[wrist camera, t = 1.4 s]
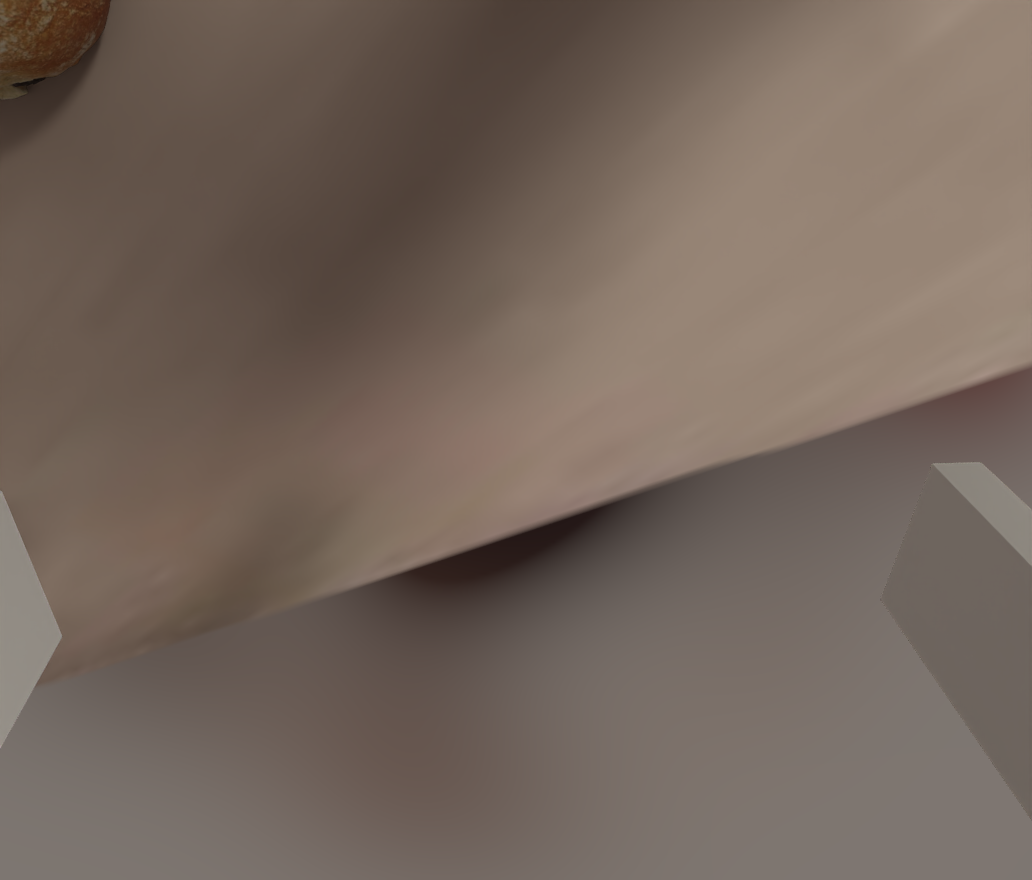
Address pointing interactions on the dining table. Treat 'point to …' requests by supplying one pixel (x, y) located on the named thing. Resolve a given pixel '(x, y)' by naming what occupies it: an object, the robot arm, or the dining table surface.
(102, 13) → the bread roll
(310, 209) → the dining table surface
